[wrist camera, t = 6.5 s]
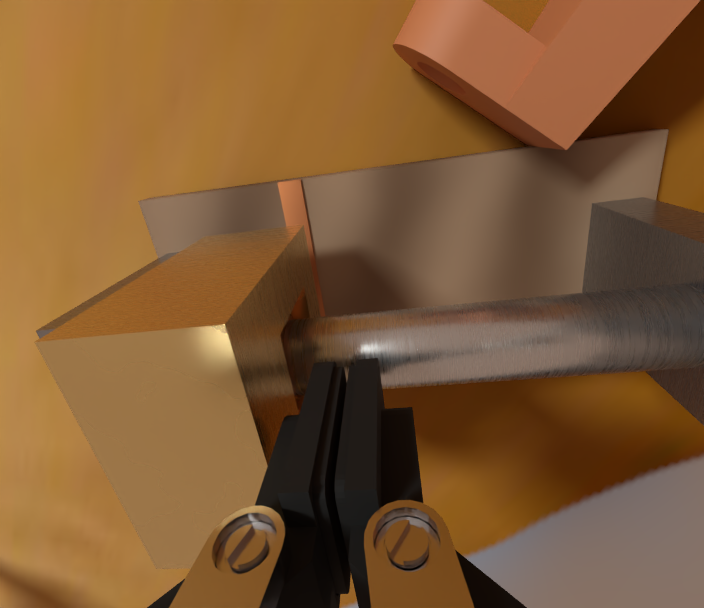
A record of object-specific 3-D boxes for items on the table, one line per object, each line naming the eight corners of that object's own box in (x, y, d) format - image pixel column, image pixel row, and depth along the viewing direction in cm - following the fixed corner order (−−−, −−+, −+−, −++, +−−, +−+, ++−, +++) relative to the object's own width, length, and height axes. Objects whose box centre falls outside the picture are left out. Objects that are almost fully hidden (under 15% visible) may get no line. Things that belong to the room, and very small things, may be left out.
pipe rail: (632, 194, 17) (849, 251, 9) (615, 299, 19) (781, 421, 11) (175, 248, 19) (35, 330, 11) (204, 336, 21) (102, 457, 13)
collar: (303, 224, 15) (224, 324, 7) (332, 380, 18) (297, 566, 10) (204, 236, 15) (34, 342, 8) (248, 387, 18) (156, 569, 11)
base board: (655, 129, 16) (671, 129, 15) (619, 343, 20) (630, 353, 19) (147, 198, 18) (136, 201, 17) (208, 375, 22) (201, 385, 21)
